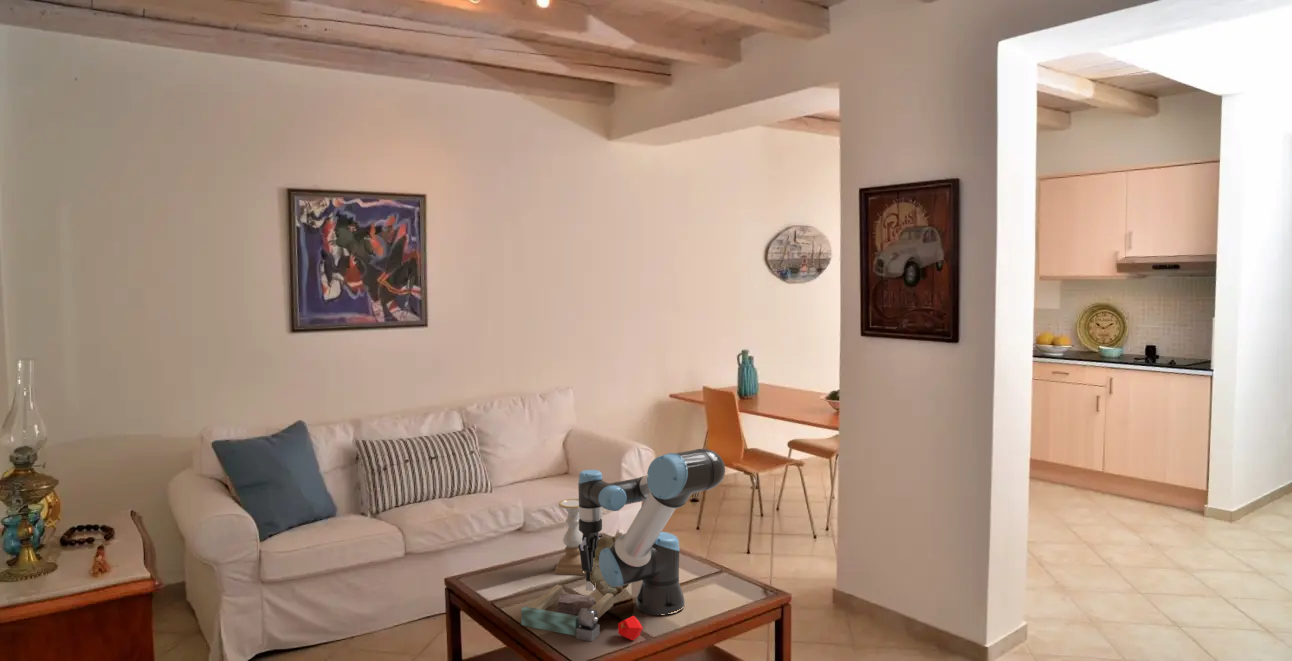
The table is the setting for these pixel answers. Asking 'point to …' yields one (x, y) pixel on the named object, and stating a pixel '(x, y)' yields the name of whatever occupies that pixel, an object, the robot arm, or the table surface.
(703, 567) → the table surface
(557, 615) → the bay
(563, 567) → the candle holder
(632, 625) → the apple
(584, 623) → the winch
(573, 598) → the stone
